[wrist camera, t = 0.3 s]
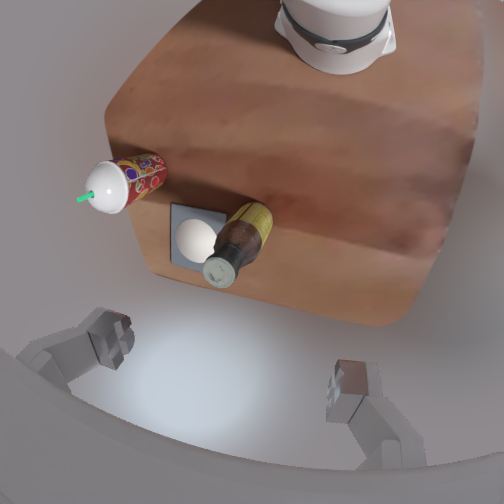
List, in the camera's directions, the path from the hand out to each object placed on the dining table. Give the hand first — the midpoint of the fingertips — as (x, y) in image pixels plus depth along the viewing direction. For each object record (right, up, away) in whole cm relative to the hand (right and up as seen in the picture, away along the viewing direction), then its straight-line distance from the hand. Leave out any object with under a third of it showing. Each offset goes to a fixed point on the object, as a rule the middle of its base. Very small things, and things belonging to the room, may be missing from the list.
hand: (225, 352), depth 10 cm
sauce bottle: (+2, +10, +40) cm, 41 cm away
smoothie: (-17, +19, +41) cm, 48 cm away
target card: (-9, +6, +45) cm, 46 cm away
